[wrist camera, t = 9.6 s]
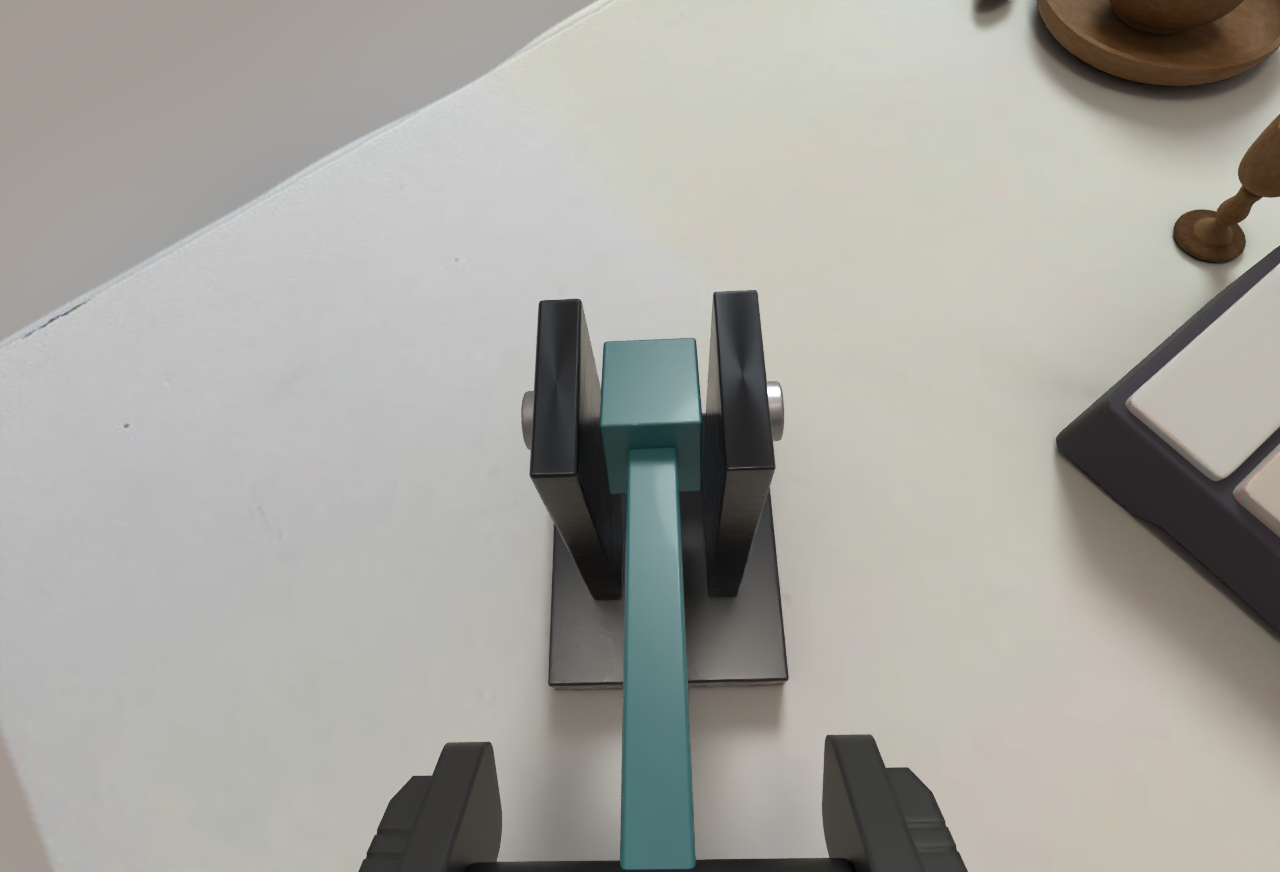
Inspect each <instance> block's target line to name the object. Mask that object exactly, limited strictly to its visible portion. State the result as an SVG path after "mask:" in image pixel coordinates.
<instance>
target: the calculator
mask: <svg viewBox="0 0 1280 872" xmlns="http://www.w3.org/2000/svg"><path fill="white" fill-rule="evenodd" d="M1056 442H1057V445H1058V447H1059V448H1060V449H1061V450H1062V451H1063V452H1064V453H1065V454H1066V455H1067V456H1068V457H1069V458H1071V459H1072V460H1073V461H1074V462H1075V463H1076V464H1077V465H1078V466H1079V467H1080V468H1082V469H1083V470H1084V471H1085V472H1086V473H1087V474H1088V475H1089V476H1090V477H1092V478H1093V479H1094V480H1095V481H1096V482H1097V483H1098V484H1099V485H1100V486H1102V487H1103V488H1104V489H1105V490H1106V491H1107V492H1108V493H1109V494H1110V495H1112V496H1113V497H1114V498H1115V499H1116V500H1117V501H1118V502H1119V503H1120V504H1121V505H1123V506H1124V507H1125V508H1126V509H1127V510H1128V511H1129V512H1130V513H1132V514H1134V515H1136V516H1138V517H1140V518H1143V519H1145V520H1147V521H1149V522H1151V523H1153V524H1155V525H1158V526H1160V527H1161V528H1163V529H1164V530H1166V531H1167V532H1168V533H1169V534H1170V535H1171V536H1173V537H1174V538H1175V539H1176V540H1177V541H1178V542H1179V543H1180V544H1181V545H1183V546H1184V547H1185V548H1186V549H1187V550H1188V551H1189V552H1190V553H1192V554H1193V555H1194V556H1195V557H1196V558H1197V559H1198V560H1199V561H1200V562H1202V563H1203V564H1204V565H1205V566H1206V567H1207V568H1208V569H1209V570H1211V571H1212V572H1213V573H1214V574H1215V575H1216V576H1217V577H1218V578H1219V579H1221V580H1222V581H1223V582H1224V583H1225V584H1226V585H1227V586H1228V587H1230V588H1231V589H1232V590H1233V591H1234V592H1235V593H1236V594H1237V595H1238V596H1240V597H1241V598H1242V599H1243V600H1244V601H1245V602H1246V603H1247V604H1248V605H1250V606H1251V607H1252V608H1253V609H1254V610H1255V611H1256V612H1257V613H1259V614H1260V615H1261V616H1262V617H1263V618H1264V619H1265V620H1266V621H1267V622H1269V623H1270V624H1271V625H1272V626H1273V627H1274V628H1275V629H1276V630H1278V631H1279V632H1280V246H1279V247H1277V248H1276V249H1274V250H1273V251H1272V252H1271V253H1269V254H1268V255H1267V256H1266V257H1264V258H1263V259H1262V260H1260V261H1259V262H1258V263H1257V264H1255V265H1254V266H1253V267H1252V268H1250V269H1249V270H1248V271H1247V272H1245V273H1244V274H1243V275H1242V276H1240V277H1239V278H1238V279H1236V280H1235V281H1234V282H1233V283H1231V284H1230V285H1229V286H1228V287H1226V288H1225V289H1224V290H1223V291H1221V292H1220V293H1219V294H1218V295H1216V296H1215V297H1214V298H1213V299H1212V300H1211V301H1209V302H1208V303H1207V304H1206V305H1205V306H1204V307H1203V308H1202V309H1200V310H1199V311H1198V312H1197V313H1196V314H1195V315H1194V316H1192V317H1191V318H1190V319H1189V320H1188V321H1187V322H1186V323H1184V324H1183V325H1182V326H1181V327H1180V328H1179V329H1178V330H1176V331H1175V332H1174V333H1173V334H1172V335H1171V336H1170V337H1168V338H1167V339H1166V340H1165V341H1164V342H1163V343H1162V344H1160V345H1159V346H1158V347H1157V348H1156V349H1155V350H1154V351H1153V352H1151V353H1150V354H1149V355H1148V356H1147V357H1146V358H1145V359H1143V360H1142V361H1141V362H1140V363H1139V364H1138V365H1137V366H1135V367H1134V368H1133V369H1132V370H1131V371H1130V372H1129V373H1127V374H1126V375H1125V376H1124V377H1123V378H1122V379H1121V380H1119V381H1118V382H1117V383H1116V384H1115V385H1114V386H1113V387H1111V388H1110V389H1109V390H1108V391H1107V392H1106V393H1105V394H1104V395H1102V396H1101V397H1100V398H1099V399H1098V400H1097V401H1096V402H1094V403H1093V404H1092V405H1091V406H1090V407H1089V408H1088V409H1086V410H1085V411H1084V412H1083V413H1082V414H1081V415H1080V416H1078V417H1077V418H1076V419H1075V420H1074V421H1073V422H1072V423H1070V424H1069V425H1068V426H1067V427H1066V428H1065V429H1064V430H1063V431H1061V432H1060V434H1059V435H1058V436H1057V439H1056Z"/></svg>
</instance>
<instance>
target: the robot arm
mask: <svg viewBox="0 0 1280 872" xmlns="http://www.w3.org/2000/svg"><path fill="white" fill-rule="evenodd" d="M822 816H823V827H824V834H825V840H826V845H827V849H828V853H829V858H846V859H848V860H849V861H850V862H851V864H852V866H853V868H854V870H855V872H968V871H967V869H966V867H965V865H964V862H963V860H962V858H961V856H960V853H959V852H957V850H956V845H955V842H954V840H953V838H952V836H951V833H950V831H949V829H948V827H946V825H945V820H944V818H943V815H942V813H941V811H940V809H939V807H938V804H937V802H936V800H935V798H934V795H933V793H932V792H931V791H930V790H929V789H928V788H927V787H926V785H925V784H924V783H923V782H922V781H921V780H920V779H919V778H918V777H917V776H916V775H915V774H914V773H913V772H912V771H911V770H910V769H909V768H885V765H884V763H883V760H882V758H881V755H880V752H879V750H878V747H877V745H876V742H875V740H874V738H873V736H872V735H827V736H826V739H825V750H824V773H823V796H822ZM501 833H502V810H501V802H500V795H499V788H498V780H497V773H496V766H495V759H494V752H493V747H492V745H491V743H490V742H458V743H447V744H446V745H445V746H444V748H443V750H442V752H441V755H440V757H439V760H438V762H437V765H436V767H435V770H434V772H433V775H432V776H413V777H412V778H411V779H410V780H409V781H408V782H407V783H406V784H405V785H404V786H403V787H402V789H401V790H400V791H399V792H398V793H397V794H396V795H395V796H394V797H393V798H392V799H391V800H390V802H389V804H388V807H387V809H386V811H385V813H384V816H383V818H382V820H381V822H380V825H379V827H378V829H377V835H375V836H374V838H373V840H372V843H371V845H370V847H369V849H368V851H367V857H366V859H364V860H363V863H362V865H361V867H360V869H359V872H467V870H468V869H469V867H470V866H471V865H472V864H474V863H476V862H496V861H497V857H498V853H499V848H500V842H501Z"/></svg>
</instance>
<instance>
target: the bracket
mask: <svg viewBox="0 0 1280 872" xmlns="http://www.w3.org/2000/svg"><path fill="white" fill-rule="evenodd" d="M600 405H601V388H600V384H599V379H598V374H597V370H596V365H595V361H594V356H593V351H592V347H591V342H590V337H589V333H588V328H587V324H586V319H585V314H584V310H583V305H582V302H581V300H580V299H567V300H545V301H540V303H539V309H538V328H537V346H536V365H535V383H534V391H528V392H526V393H525V394H524V397H523V401H522V413H521V418H522V431H523V438H524V442H525V444H526V447H527V448H528V449H530V450H531V458H530V477H531V479H532V481H533V483H534V485H535V487H536V489H537V491H538V493H539V495H540V497H541V499H542V501H543V502H544V504H545V506H546V508H547V510H548V512H549V514H550V516H551V518H552V520H553V522H554V543H553V570H552V597H551V624H550V651H549V679H548V684H549V686H550V687H552V688H554V689H556V690H561V689H606V688H623V670H624V612H625V554H626V497H627V493H620V494H611V493H610V492H609V489H608V482H607V475H606V468H605V461H604V455H603V448H602V441H601V434H600V427H599V424H600ZM783 429H784V403H783V394H782V389H781V386H780V383H779V382H777V381H770V382H767V380H766V371H765V361H764V352H763V342H762V332H761V323H760V313H759V303H758V294H757V291H756V290H749V291H727V292H715V293H714V294H713V306H712V322H711V338H710V355H709V371H708V387H707V404H706V413H703V414H702V488H701V490H700V491H679V499H680V521H681V544H682V566H683V589H684V611H685V634H686V656H687V678H688V687H696V686H740V685H782V684H784V683H785V682H786V681H788V678H789V677H788V667H787V657H786V647H785V637H784V627H783V617H782V607H781V596H780V586H779V576H778V566H777V556H776V546H775V536H774V526H773V515H772V505H771V495H770V484H771V480H772V477H773V474H774V470H775V458H774V448H773V441H779V440H781V438H782V435H783Z"/></svg>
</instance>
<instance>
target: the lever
mask: <svg viewBox="0 0 1280 872" xmlns="http://www.w3.org/2000/svg"><path fill="white" fill-rule="evenodd" d="M599 427H600V434H601V441H602V448H603V455H604V461H605V468H606V475H607V482H608V489H609V492H610V493H611V494H620V493H627V497H626V554H625V612H624V670H623V727H622V785H621V843H620V861H538V862H476V863H474V864H472V865H471V866H470V867H469V869H468V870H467V872H855V870H854V868H853V866H852V864H851V862H850V861H849V860H848V859H846V858H789V859H705V860H696V858H695V836H694V813H693V791H692V768H691V746H690V723H689V701H688V678H687V656H686V634H685V611H684V589H683V566H682V544H681V521H680V499H679V491H700V490H701V488H702V411H701V399H700V386H699V373H698V360H697V347H696V340H695V338H680V339H657V340H634V341H611V342H605V343H604V349H603V368H602V386H601V405H600V424H599Z"/></svg>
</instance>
